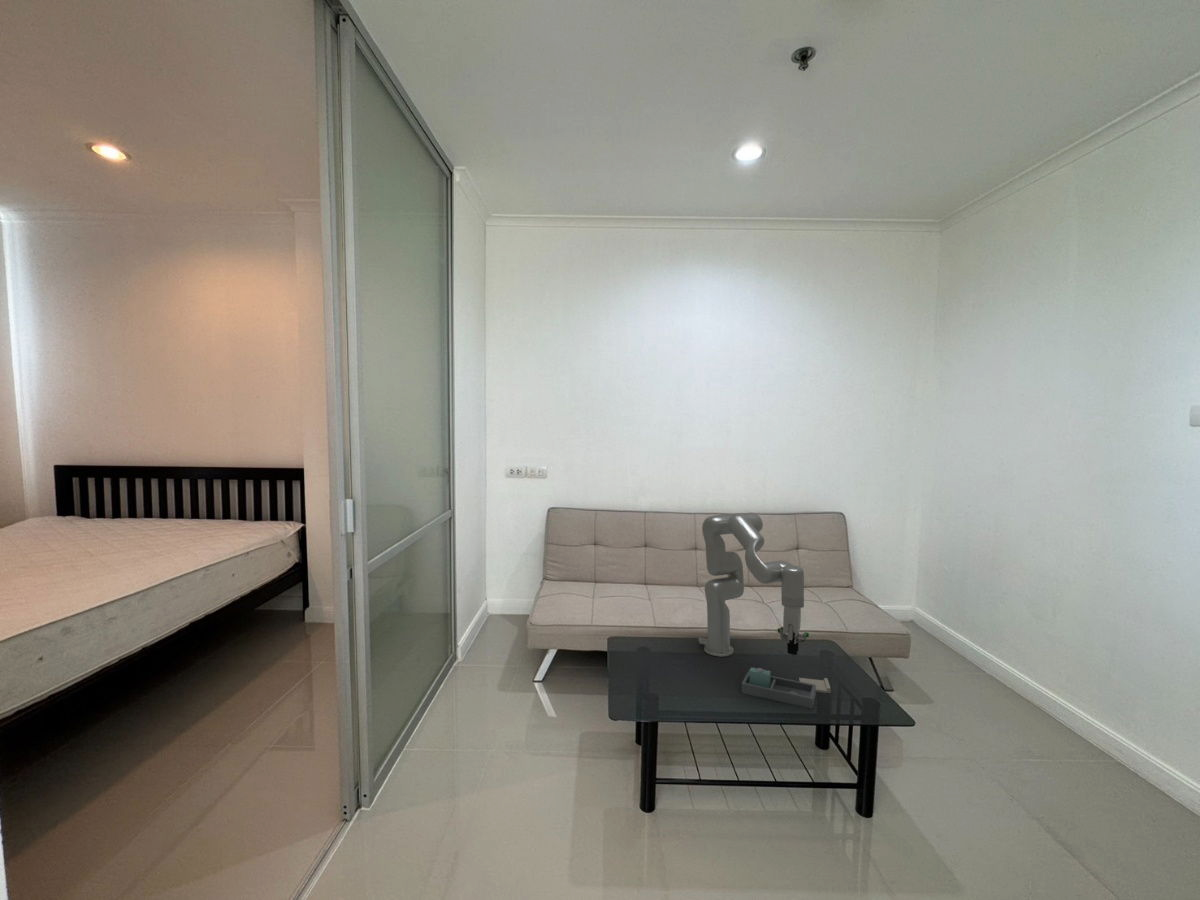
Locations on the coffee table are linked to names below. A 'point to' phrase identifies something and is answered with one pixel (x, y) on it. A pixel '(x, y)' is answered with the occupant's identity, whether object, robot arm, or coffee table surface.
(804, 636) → the mechanical component
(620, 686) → the coffee table surface
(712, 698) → the coffee table surface
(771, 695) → the housing
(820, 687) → the lid plate
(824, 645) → the coffee table surface
